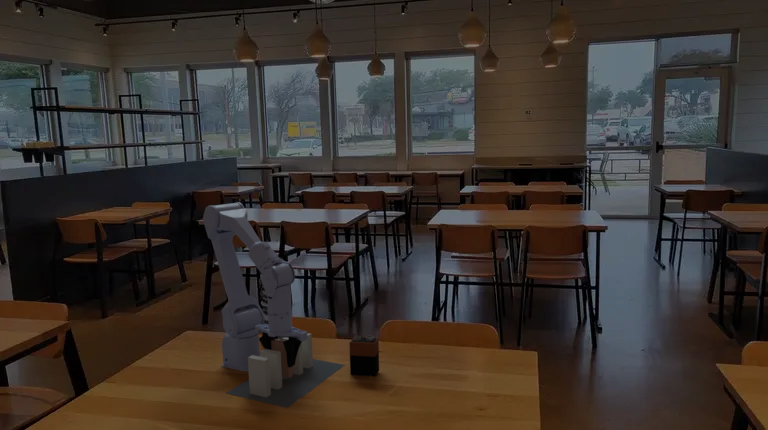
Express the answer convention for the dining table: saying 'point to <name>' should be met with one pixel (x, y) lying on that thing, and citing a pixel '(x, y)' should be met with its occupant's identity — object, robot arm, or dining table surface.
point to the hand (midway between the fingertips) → (282, 364)
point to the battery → (364, 356)
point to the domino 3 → (282, 357)
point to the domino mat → (292, 385)
